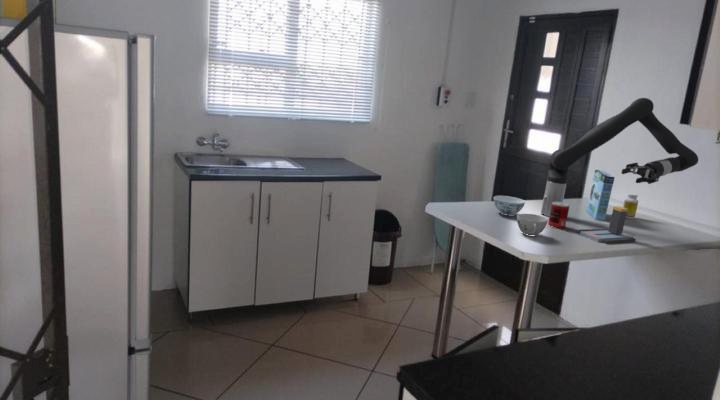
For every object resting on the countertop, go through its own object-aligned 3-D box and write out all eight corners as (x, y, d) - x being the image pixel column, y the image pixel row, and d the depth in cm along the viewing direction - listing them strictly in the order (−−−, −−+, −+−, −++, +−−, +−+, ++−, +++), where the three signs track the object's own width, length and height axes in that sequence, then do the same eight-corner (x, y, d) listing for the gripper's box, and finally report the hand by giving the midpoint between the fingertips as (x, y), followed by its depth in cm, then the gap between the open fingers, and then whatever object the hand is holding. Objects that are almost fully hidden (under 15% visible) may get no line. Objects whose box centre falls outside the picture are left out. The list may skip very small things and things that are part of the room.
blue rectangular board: (614, 232, 242) (614, 229, 241) (632, 239, 233) (633, 236, 232) (579, 234, 232) (580, 231, 232) (597, 241, 224) (598, 238, 223)
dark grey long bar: (632, 241, 231) (633, 238, 230) (635, 242, 230) (635, 239, 229) (603, 242, 223) (604, 239, 223) (606, 243, 222) (606, 240, 222)
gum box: (585, 210, 282) (594, 169, 277) (595, 212, 282) (604, 170, 276) (594, 219, 264) (604, 175, 258) (605, 221, 263) (615, 177, 258)
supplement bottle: (636, 220, 273) (641, 196, 269) (622, 218, 274) (628, 194, 271) (632, 216, 279) (637, 193, 276) (619, 215, 280) (624, 192, 277)
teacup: (512, 228, 231) (515, 211, 229) (541, 232, 230) (544, 215, 228) (517, 238, 217) (520, 220, 215) (548, 242, 215) (551, 224, 213)
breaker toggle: (614, 231, 237) (619, 206, 234) (622, 233, 233) (627, 208, 230) (607, 231, 235) (613, 206, 232) (615, 234, 231) (621, 209, 229)
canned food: (564, 225, 246) (569, 203, 243) (565, 229, 238) (570, 206, 236) (547, 222, 248) (552, 200, 245) (547, 226, 241) (552, 203, 238)
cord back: (606, 231, 243) (607, 228, 243) (608, 232, 242) (609, 229, 242) (578, 232, 236) (578, 229, 235) (580, 233, 234) (581, 230, 234)
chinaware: (485, 212, 256) (487, 197, 254) (502, 209, 266) (504, 194, 264) (511, 220, 246) (514, 204, 244) (528, 216, 256) (531, 201, 254)
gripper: (647, 154, 240) (619, 162, 236) (672, 168, 229) (643, 176, 224) (643, 168, 244) (615, 176, 240) (668, 183, 233) (639, 191, 229)
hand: (629, 176), depth 232 cm, fingers open, 8 cm apart
